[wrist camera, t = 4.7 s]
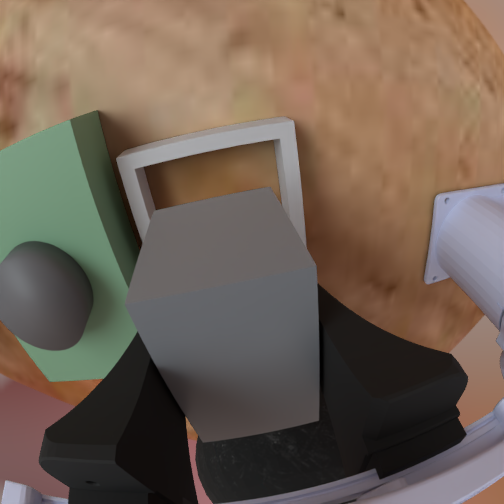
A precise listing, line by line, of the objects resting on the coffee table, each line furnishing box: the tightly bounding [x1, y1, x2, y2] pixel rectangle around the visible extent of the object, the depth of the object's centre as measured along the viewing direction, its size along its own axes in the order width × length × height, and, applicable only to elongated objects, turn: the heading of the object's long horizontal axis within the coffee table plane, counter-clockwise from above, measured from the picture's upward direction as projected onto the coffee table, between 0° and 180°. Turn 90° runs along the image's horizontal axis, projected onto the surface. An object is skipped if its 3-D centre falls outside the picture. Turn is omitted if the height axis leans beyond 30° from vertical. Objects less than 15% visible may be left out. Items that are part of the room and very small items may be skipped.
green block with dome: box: [0, 110, 307, 382], centre depth 16 cm, size 20×16×6 cm
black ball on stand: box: [195, 384, 357, 504], centre depth 21 cm, size 13×13×15 cm
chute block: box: [125, 187, 319, 443], centre depth 11 cm, size 4×7×6 cm, turn 9°
